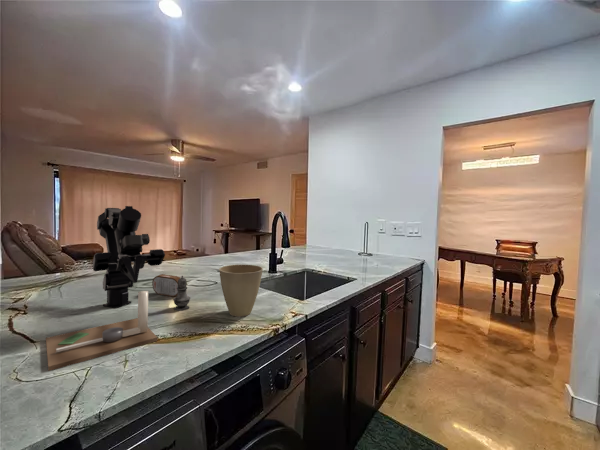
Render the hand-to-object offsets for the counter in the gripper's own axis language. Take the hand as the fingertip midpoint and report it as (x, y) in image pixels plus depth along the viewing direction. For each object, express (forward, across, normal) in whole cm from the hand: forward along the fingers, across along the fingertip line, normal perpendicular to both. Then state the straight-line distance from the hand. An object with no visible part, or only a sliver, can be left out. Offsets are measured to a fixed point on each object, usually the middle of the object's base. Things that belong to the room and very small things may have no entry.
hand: (135, 281), depth 81 cm
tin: (-9, +18, +29) cm, 35 cm away
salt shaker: (+5, +17, +15) cm, 23 cm away
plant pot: (+17, +30, +3) cm, 35 cm away
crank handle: (+14, -8, +3) cm, 17 cm away
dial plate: (+13, -9, +6) cm, 17 cm away
